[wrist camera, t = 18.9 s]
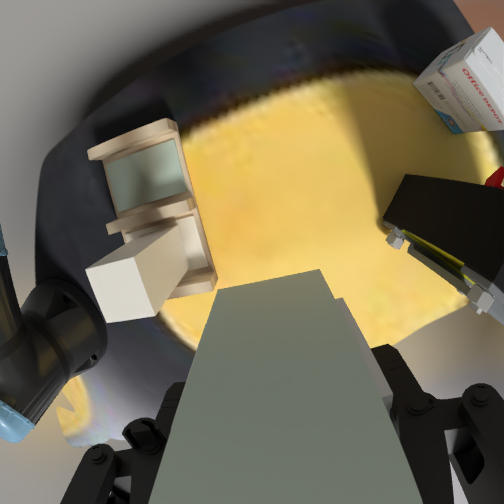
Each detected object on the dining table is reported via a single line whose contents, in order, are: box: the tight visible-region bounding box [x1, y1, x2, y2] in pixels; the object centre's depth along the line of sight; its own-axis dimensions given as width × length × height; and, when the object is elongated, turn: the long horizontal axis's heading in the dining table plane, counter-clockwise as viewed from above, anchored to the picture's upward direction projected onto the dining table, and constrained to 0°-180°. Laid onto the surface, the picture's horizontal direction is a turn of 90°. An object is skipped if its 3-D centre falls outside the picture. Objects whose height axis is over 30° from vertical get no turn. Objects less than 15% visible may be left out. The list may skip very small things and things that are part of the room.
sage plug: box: [148, 269, 423, 504], centre depth 9 cm, size 5×5×12 cm
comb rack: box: [87, 118, 218, 300], centre depth 31 cm, size 10×19×4 cm, turn 14°
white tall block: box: [85, 225, 190, 323], centre depth 28 cm, size 5×5×12 cm
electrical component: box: [382, 166, 504, 325], centre depth 22 cm, size 18×10×20 cm, turn 63°
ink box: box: [413, 27, 504, 134], centre depth 21 cm, size 9×8×12 cm
